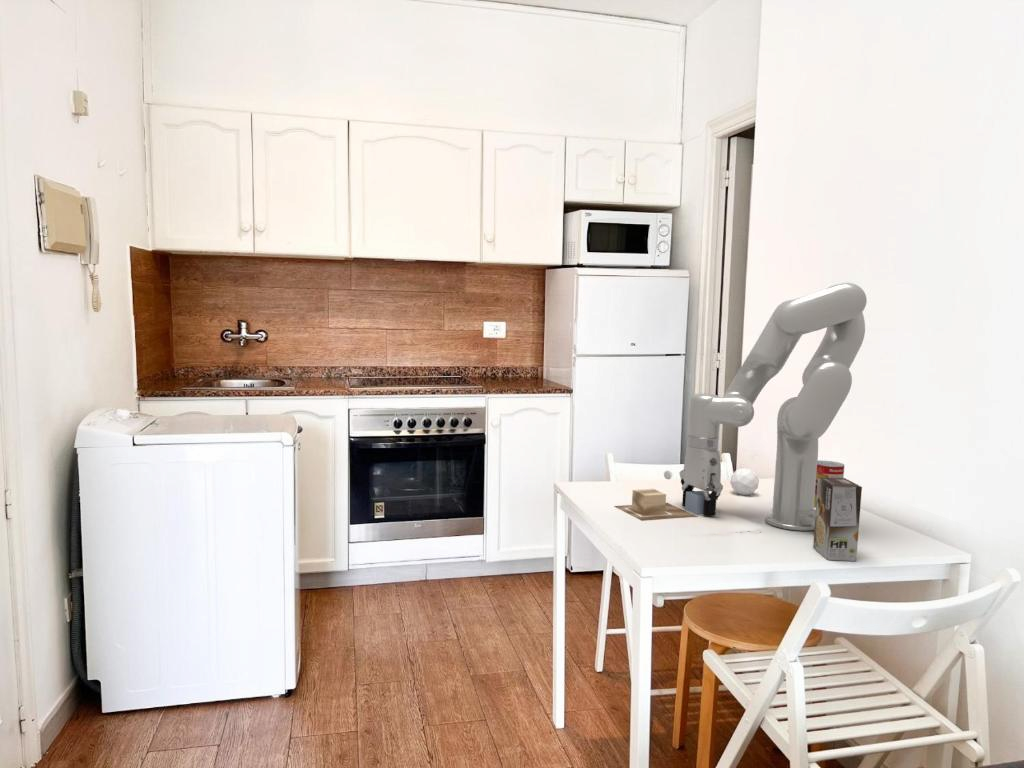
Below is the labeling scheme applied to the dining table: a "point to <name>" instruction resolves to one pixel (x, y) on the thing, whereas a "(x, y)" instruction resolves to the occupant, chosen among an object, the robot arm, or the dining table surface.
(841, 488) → the coffee box
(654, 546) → the dining table surface
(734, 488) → the geometric ball
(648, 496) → the oak block
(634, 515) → the plate
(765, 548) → the dining table surface
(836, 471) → the canned food
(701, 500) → the slate block
